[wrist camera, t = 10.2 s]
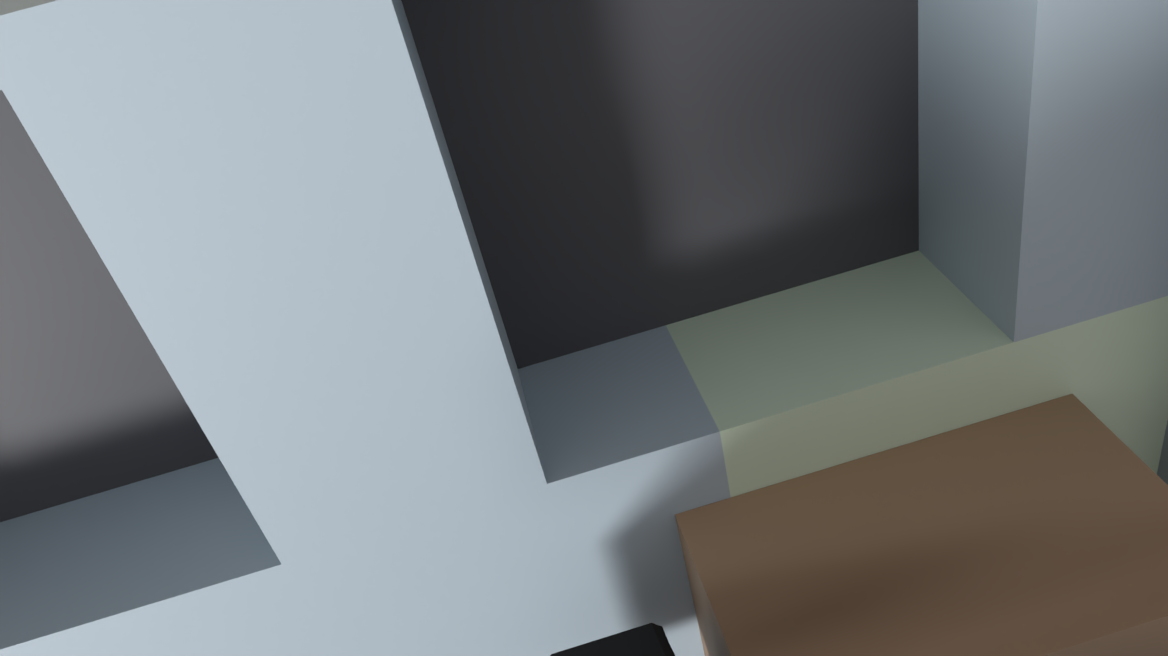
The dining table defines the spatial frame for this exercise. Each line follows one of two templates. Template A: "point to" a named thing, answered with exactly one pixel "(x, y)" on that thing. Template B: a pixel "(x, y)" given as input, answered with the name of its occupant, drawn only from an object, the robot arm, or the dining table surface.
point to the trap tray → (530, 293)
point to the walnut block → (944, 549)
